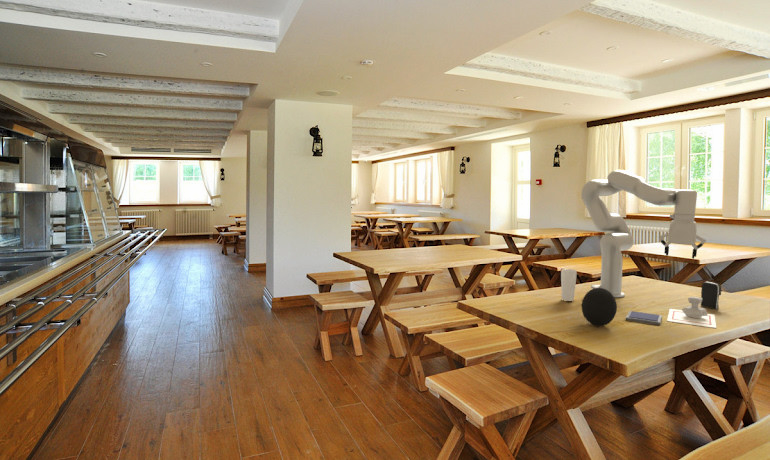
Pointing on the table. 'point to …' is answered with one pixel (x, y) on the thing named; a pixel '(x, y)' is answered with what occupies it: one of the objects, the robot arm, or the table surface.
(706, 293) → the battery charger
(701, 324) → the paper sheet
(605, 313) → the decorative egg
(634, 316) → the ink pad
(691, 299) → the stamp
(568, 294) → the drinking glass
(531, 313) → the table surface
